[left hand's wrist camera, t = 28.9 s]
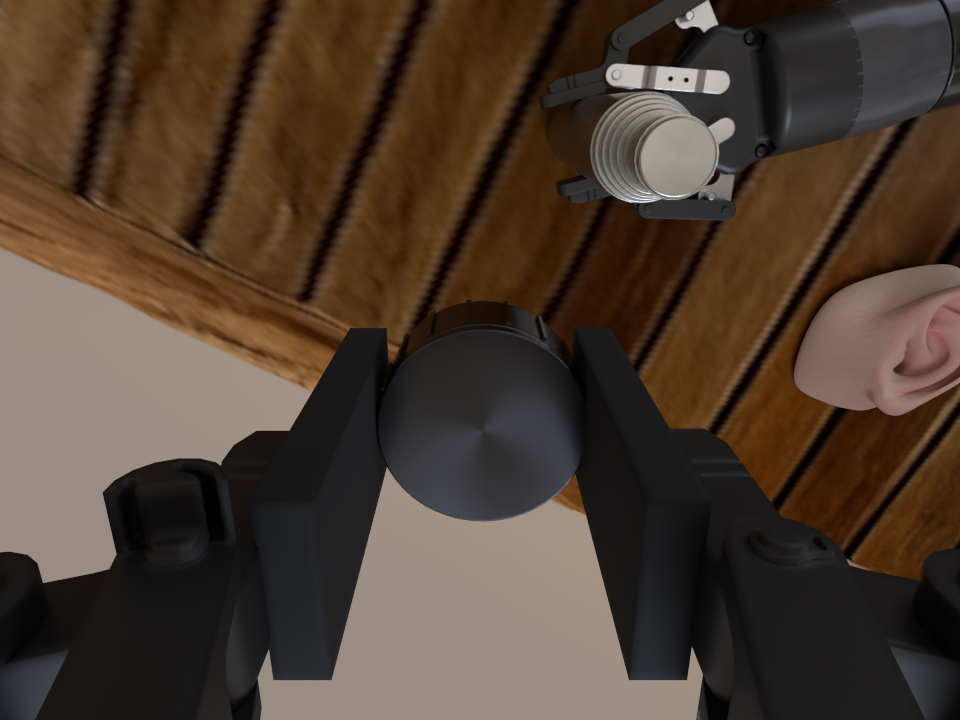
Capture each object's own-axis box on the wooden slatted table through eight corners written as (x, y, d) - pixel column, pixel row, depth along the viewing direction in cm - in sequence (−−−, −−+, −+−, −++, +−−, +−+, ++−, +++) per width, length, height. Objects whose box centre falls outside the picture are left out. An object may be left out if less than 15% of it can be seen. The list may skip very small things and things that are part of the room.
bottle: (554, 172, 47) (623, 236, 24) (541, 105, 46) (603, 106, 23) (617, 157, 47) (749, 207, 24) (607, 89, 45) (737, 73, 22)
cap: (616, 355, 14) (635, 391, 12) (518, 502, 15) (523, 555, 13) (443, 262, 13) (437, 286, 11) (356, 425, 14) (338, 470, 13)
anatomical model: (812, 437, 50) (827, 288, 46) (789, 414, 54) (801, 275, 50) (993, 424, 50) (1025, 272, 45) (957, 401, 53) (983, 260, 49)
